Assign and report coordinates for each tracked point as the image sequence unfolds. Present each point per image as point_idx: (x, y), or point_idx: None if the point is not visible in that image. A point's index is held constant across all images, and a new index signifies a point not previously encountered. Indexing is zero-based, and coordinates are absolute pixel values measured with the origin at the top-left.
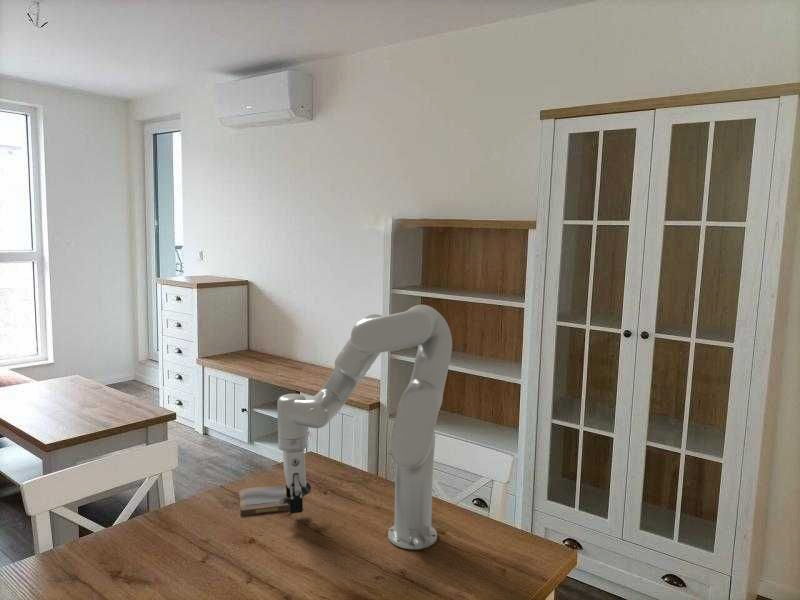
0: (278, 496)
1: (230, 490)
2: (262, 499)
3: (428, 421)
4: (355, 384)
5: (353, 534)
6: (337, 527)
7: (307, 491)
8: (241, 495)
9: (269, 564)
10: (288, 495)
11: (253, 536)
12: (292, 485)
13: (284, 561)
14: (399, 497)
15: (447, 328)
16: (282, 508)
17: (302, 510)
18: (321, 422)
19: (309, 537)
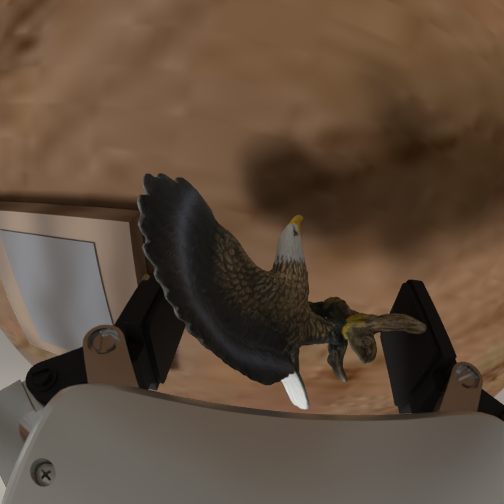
0: (57, 261)
1: (26, 342)
2: (82, 317)
3: None
4: None
5: (490, 24)
6: (415, 46)
7: (192, 209)
8: (63, 353)
9: (481, 346)
10: (184, 322)
11: (320, 369)
12: (156, 356)
13: (499, 314)
14: None
15: None
16: (140, 258)
17: (422, 284)
18: None
19: (441, 205)
